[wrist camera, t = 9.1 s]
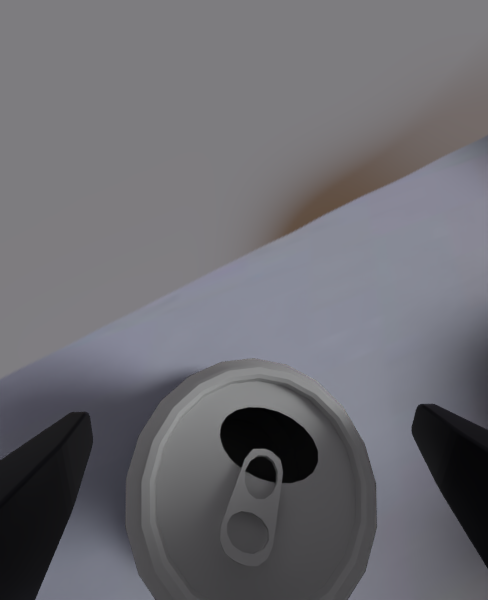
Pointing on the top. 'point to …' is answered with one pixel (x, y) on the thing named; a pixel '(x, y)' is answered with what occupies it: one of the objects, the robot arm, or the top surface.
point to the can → (250, 489)
